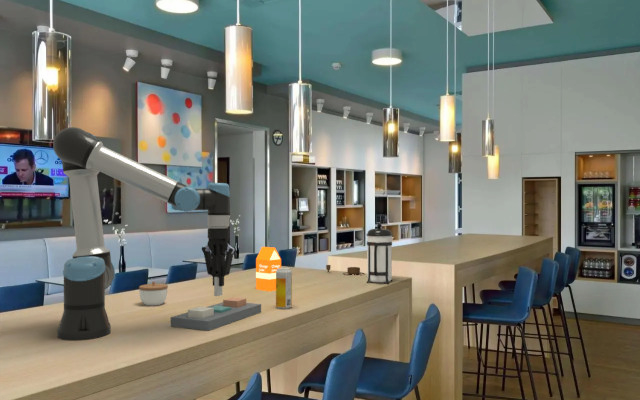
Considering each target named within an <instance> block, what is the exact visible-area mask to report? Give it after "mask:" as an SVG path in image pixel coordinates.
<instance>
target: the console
mask: <svg viewBox="0 0 640 400" xmlns="http://www.w3.org/2000/svg"><path fill="white" fill-rule="evenodd" d="M214 306H223V301H222V302H219V303H215V304H212V305H209V306H206V307H207V308H211V307H214ZM224 307H225V306H224ZM261 313H262V303H253V302H252V303H251V302H246V305H244V306H241V307H238V308H236V307H231V310H228V311H225V312H222V313H218V312H214V315H212V316H209V317H206V318H194V317H188V311H187V312H184V313H180V314H176V315H173V316H171V317H170V327H172V328H174V327H175V328H179V329H181V328H182V329H189V330H198V331H207V332H209V331H212V330H215V329H218V328H221V327H223V326H226V325H229V324H232V323H235V322H238V321H240V320H243V319H246V318H249V317H252V316H254V315H255V316H256V315H257V314H261Z"/></svg>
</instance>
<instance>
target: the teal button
mask: <svg viewBox="0 0 640 400" xmlns="http://www.w3.org/2000/svg"><path fill="white" fill-rule="evenodd" d="M211 308H214V312H218V313H222V312H225V311H228V310H231V307H224V306H214V307H211Z"/></svg>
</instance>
